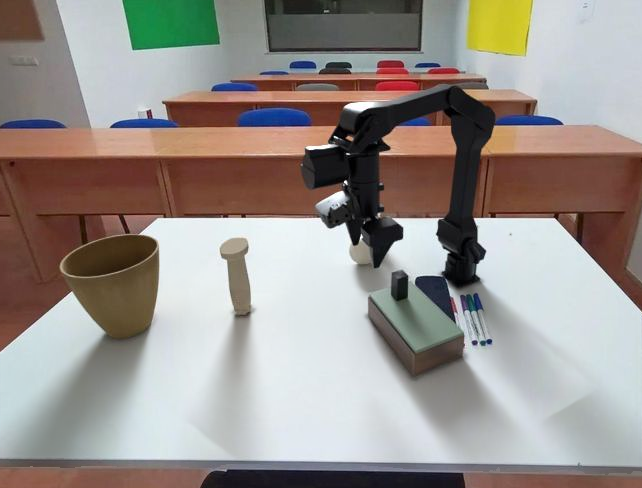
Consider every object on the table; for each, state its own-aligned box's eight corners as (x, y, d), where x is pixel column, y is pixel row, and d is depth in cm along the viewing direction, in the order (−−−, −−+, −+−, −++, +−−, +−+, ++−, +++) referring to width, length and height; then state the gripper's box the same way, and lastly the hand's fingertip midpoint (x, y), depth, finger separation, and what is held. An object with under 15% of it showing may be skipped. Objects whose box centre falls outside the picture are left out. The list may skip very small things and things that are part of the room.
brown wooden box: (410, 301, 82) (411, 283, 81) (462, 356, 68) (464, 335, 67) (367, 315, 78) (367, 296, 77) (413, 376, 64) (414, 354, 62)
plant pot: (64, 342, 71) (37, 266, 66) (135, 295, 84) (119, 228, 79) (124, 364, 66) (101, 284, 61) (190, 311, 79) (177, 240, 74)
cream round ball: (369, 273, 93) (369, 247, 90) (344, 264, 96) (343, 239, 94) (383, 260, 98) (384, 236, 96) (359, 252, 102) (359, 229, 99)
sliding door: (410, 283, 81) (411, 259, 79) (464, 335, 66) (466, 307, 65) (368, 295, 77) (368, 271, 75) (415, 354, 62) (417, 325, 61)
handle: (258, 301, 83) (250, 237, 77) (251, 321, 77) (242, 253, 71) (235, 301, 82) (226, 237, 77) (226, 322, 76) (215, 254, 71)
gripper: (302, 170, 73) (308, 244, 79) (339, 205, 57) (344, 295, 63) (357, 161, 78) (359, 232, 83) (405, 192, 62) (404, 276, 67)
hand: (365, 256), depth 74 cm, fingers open, 9 cm apart
